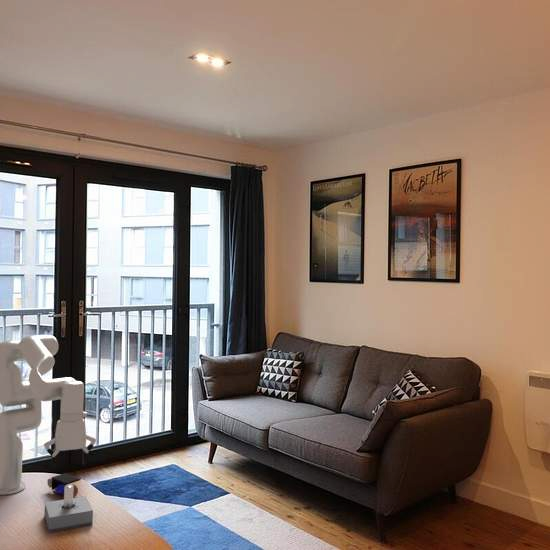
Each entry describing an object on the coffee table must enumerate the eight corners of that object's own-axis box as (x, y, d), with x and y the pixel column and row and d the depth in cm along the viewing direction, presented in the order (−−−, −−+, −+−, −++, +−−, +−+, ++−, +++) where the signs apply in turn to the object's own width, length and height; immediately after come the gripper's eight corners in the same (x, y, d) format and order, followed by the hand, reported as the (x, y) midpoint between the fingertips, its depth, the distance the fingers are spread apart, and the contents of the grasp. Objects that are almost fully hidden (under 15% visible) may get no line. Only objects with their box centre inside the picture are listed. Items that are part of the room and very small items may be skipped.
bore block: (44, 516, 195) (44, 502, 195) (85, 509, 202) (85, 496, 202) (49, 532, 183) (49, 517, 183) (92, 524, 189) (92, 510, 189)
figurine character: (45, 495, 218) (66, 501, 208) (45, 475, 218) (66, 480, 209) (61, 491, 223) (82, 496, 214) (61, 471, 224) (82, 476, 214)
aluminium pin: (62, 516, 193) (63, 485, 193) (71, 515, 194) (72, 484, 194) (64, 520, 190) (65, 488, 190) (73, 518, 192) (74, 487, 192)
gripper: (94, 412, 200) (92, 459, 200) (44, 416, 192) (41, 465, 192) (99, 417, 194) (97, 465, 193) (46, 421, 185) (44, 472, 185)
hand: (69, 465), depth 193 cm, fingers open, 9 cm apart
